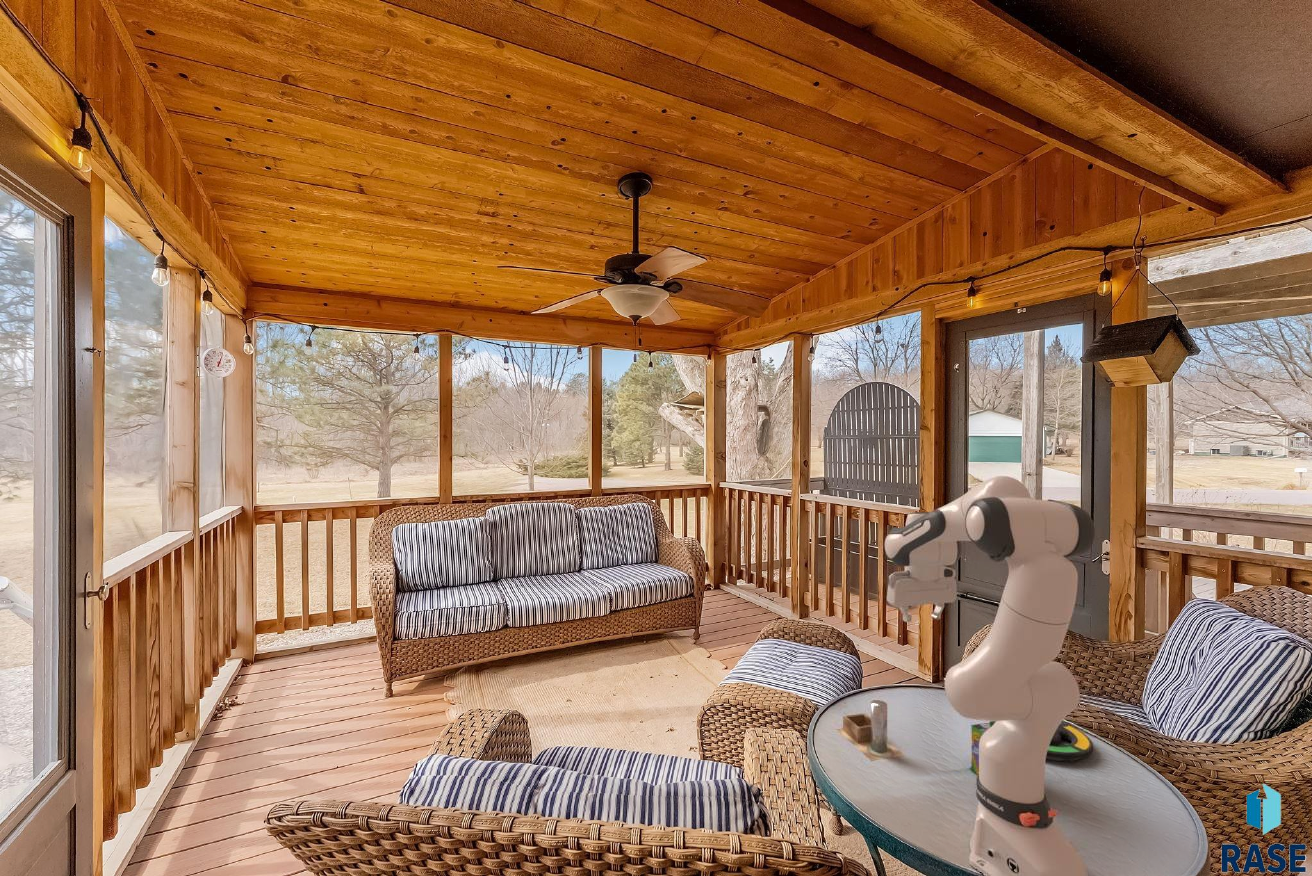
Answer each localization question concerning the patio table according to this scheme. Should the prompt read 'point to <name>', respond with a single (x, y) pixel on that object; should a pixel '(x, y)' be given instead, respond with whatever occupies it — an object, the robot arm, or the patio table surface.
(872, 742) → the peg
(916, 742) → the patio table surface
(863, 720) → the pocket board
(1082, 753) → the electronic game
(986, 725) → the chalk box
